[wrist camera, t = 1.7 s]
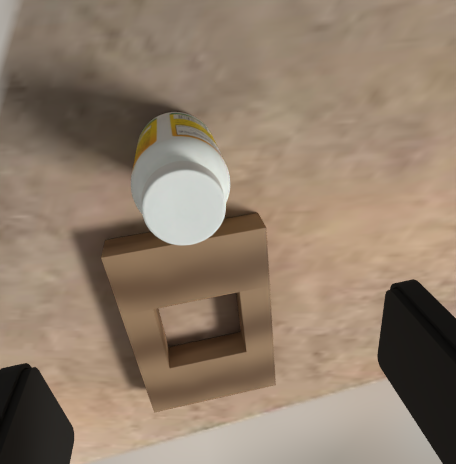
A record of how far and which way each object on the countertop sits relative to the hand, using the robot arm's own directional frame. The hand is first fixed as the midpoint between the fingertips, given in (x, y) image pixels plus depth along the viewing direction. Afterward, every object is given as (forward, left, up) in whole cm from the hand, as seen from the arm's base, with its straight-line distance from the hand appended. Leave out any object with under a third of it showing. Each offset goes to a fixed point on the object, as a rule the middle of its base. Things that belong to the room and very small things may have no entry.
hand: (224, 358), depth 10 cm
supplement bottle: (0, 0, -19) cm, 19 cm away
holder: (+15, -1, -18) cm, 23 cm away
